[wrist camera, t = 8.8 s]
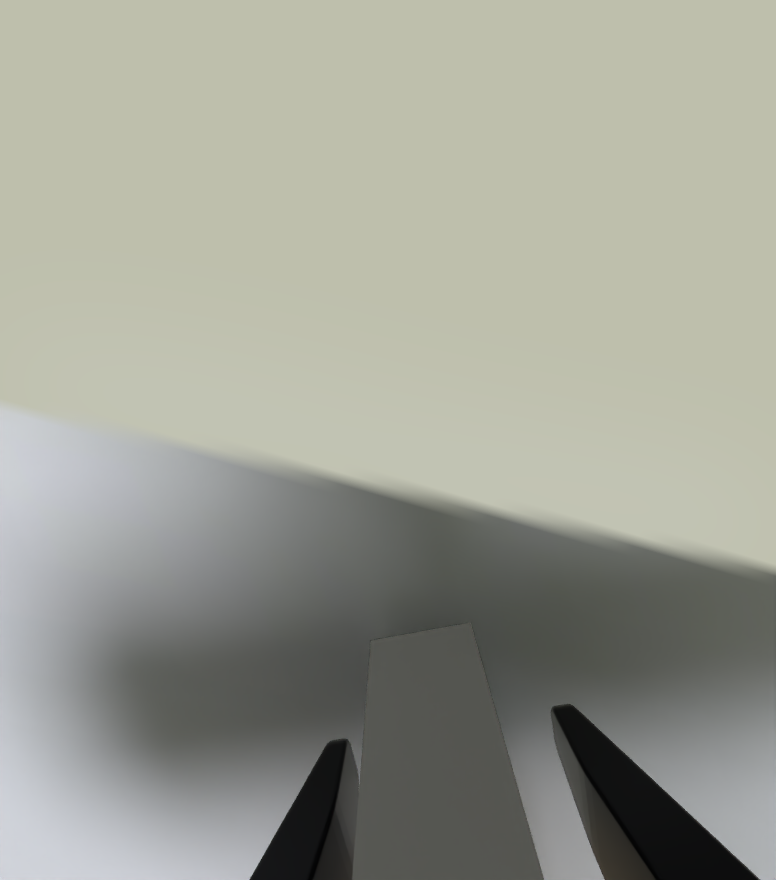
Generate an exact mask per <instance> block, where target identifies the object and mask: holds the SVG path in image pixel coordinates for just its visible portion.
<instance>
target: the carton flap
mask: <svg viewBox="0 0 776 880" xmlns="http://www.w3.org/2000/svg"><path fill="white" fill-rule="evenodd" d="M352 880H544V878H543V875H542V871H541V867H540V864H539V860H538V857H537V853H536V850H535V846H534V843H533V839H532V836H531V832H530V829H529V825H528V822H527V818H526V815H525V811H524V808H523V804H522V801H521V797H520V794H519V790H518V787H517V783H516V780H515V776H514V773H513V769H512V766H511V762H510V759H509V755H508V752H507V748H506V745H505V741H504V738H503V734H502V731H501V727H500V724H499V720H498V717H497V713H496V710H495V706H494V703H493V699H492V696H491V692H490V689H489V685H488V682H487V678H486V675H485V671H484V668H483V664H482V661H481V657H480V654H479V650H478V647H477V643H476V640H475V636H474V633H473V629H472V626H471V622H470V623H465V624H459V625H454V626H448V627H443V628H437V629H431V630H426V631H420V632H415V633H409V634H403V635H398V636H392V637H387V638H381V639H375V640H371V642H370V655H369V668H368V681H367V694H366V707H365V720H364V732H363V745H362V758H361V771H360V784H359V797H358V810H357V823H356V836H355V849H354V862H353V875H352Z"/></svg>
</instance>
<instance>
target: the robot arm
mask: <svg viewBox="0 0 776 880" xmlns="http://www.w3.org/2000/svg"><path fill="white" fill-rule="evenodd" d="M551 718H552V725H553V732H554V739H555V744H556V748H557V751H558V754H559V757H560V760H561V763H562V766H563V769H564V771H565V774H566V777H567V780H568V783H569V786H570V789H571V791H572V794H573V797H574V800H575V803H576V806H577V809H578V811H579V814H580V817H581V820H582V823H583V826H584V829H585V831H586V834H587V837H588V840H589V842H590V845H591V848H592V850H593V853H594V855H595V858H596V860H597V862H598V865H599V867H600V870H601V872H602V874H603V876H604V879H605V880H760V879H759V878H758V877H757V876H756V875H755V874H753V873H752V872H751V871H750V870H749V869H748V868H747V867H746V866H745V865H744V864H743V863H742V862H741V861H740V860H738V859H737V858H736V857H735V856H734V855H733V854H732V853H731V852H730V851H729V850H728V849H727V848H726V847H724V846H723V845H722V844H721V843H720V842H719V841H718V840H717V839H716V838H715V837H714V836H713V835H712V834H711V833H709V832H708V831H707V830H706V829H705V828H704V827H703V826H702V825H701V824H700V823H699V822H698V821H697V820H696V819H694V818H693V817H692V816H691V815H690V814H689V813H688V812H687V811H686V810H685V809H684V808H683V807H682V806H681V805H679V804H678V803H677V802H676V801H675V800H674V799H673V798H672V797H671V796H670V795H669V794H668V793H667V792H665V791H664V790H663V789H662V788H661V787H660V786H659V785H658V784H657V783H656V782H655V781H654V780H653V779H652V778H650V777H649V776H648V775H647V774H646V773H645V772H644V771H643V770H642V769H641V768H640V767H639V766H638V765H637V764H635V763H634V762H633V761H632V760H631V759H630V758H629V757H628V756H627V755H626V754H625V753H624V752H623V751H622V750H620V749H619V748H618V747H617V746H616V745H615V744H614V743H613V742H612V741H611V740H610V739H609V738H608V737H606V736H605V735H604V734H603V733H602V732H601V731H600V730H599V729H598V728H597V727H596V726H595V725H594V724H593V723H591V722H590V721H589V720H588V719H587V718H586V717H585V716H584V715H583V714H582V713H581V712H580V711H579V710H578V709H576V708H575V707H574V706H573V705H571V704H564V705H558V706H553V707H552V708H551ZM358 797H359V778H358V770H357V766H356V762H355V759H354V755H353V752H352V748H351V744H350V742H349V740H348V739H339V740H332V741H330V742H329V743H328V744H327V745H326V746H325V748H324V750H323V752H322V753H321V755H320V757H319V759H318V760H317V762H316V764H315V766H314V767H313V769H312V771H311V773H310V774H309V776H308V778H307V780H306V782H305V783H304V785H303V787H302V789H301V790H300V792H299V794H298V796H297V797H296V799H295V801H294V803H293V804H292V806H291V808H290V810H289V811H288V813H287V815H286V817H285V818H284V820H283V822H282V824H281V825H280V827H279V829H278V831H277V832H276V834H275V836H274V838H273V839H272V841H271V843H270V845H269V846H268V848H267V850H266V852H265V853H264V855H263V857H262V859H261V860H260V862H259V864H258V866H257V868H256V869H255V871H254V873H253V875H252V876H251V878H250V880H352V875H353V862H354V849H355V836H356V823H357V810H358Z"/></svg>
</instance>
